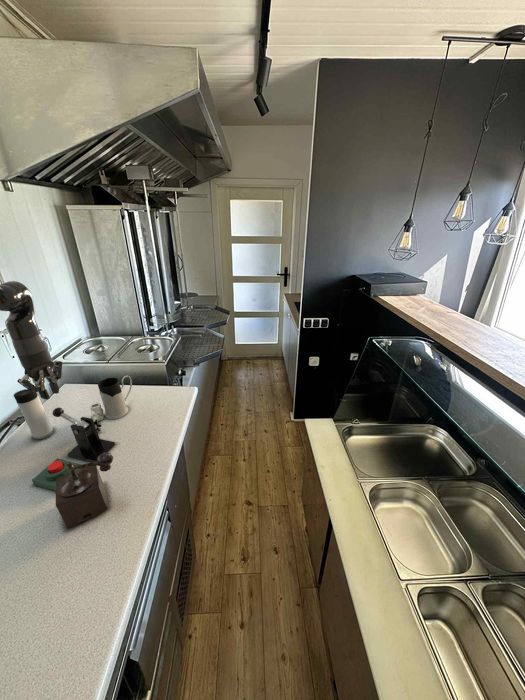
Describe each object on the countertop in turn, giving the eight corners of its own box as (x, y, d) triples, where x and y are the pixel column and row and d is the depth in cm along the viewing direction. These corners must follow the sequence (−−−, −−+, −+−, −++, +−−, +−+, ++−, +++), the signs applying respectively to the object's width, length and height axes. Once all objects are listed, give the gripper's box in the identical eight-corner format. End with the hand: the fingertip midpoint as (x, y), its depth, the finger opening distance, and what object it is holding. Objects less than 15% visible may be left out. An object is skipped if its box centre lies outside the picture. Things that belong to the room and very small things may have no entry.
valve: (91, 416, 119) (84, 436, 108) (87, 403, 116) (79, 422, 106) (109, 413, 120) (103, 432, 110) (105, 400, 118) (99, 418, 107)
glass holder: (101, 415, 120) (91, 385, 113) (129, 397, 131) (122, 369, 124) (114, 421, 116) (105, 390, 109) (143, 402, 127) (135, 373, 120)
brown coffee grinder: (66, 531, 76) (41, 485, 68) (65, 500, 84) (43, 455, 76) (128, 502, 83) (112, 457, 75) (121, 475, 92) (107, 432, 84)
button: (47, 472, 89) (45, 468, 88) (57, 463, 92) (55, 459, 91) (56, 474, 88) (54, 470, 87) (66, 465, 91) (64, 461, 90)
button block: (34, 485, 89) (29, 476, 87) (59, 462, 97) (55, 454, 95) (61, 493, 86) (57, 483, 85) (85, 469, 94) (82, 460, 92)
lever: (49, 416, 97) (50, 409, 95) (58, 410, 100) (58, 404, 98) (82, 434, 96) (83, 428, 95) (90, 428, 99) (90, 422, 98)
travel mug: (30, 441, 106) (8, 397, 98) (38, 429, 112) (18, 387, 103) (48, 439, 107) (28, 395, 99) (56, 427, 113) (37, 384, 105)
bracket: (68, 456, 99) (55, 428, 94) (88, 438, 107) (78, 411, 102) (96, 463, 96) (85, 434, 91) (115, 444, 104) (106, 416, 99)
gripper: (43, 338, 94) (61, 383, 101) (-2, 358, 82) (21, 406, 89) (61, 340, 92) (77, 386, 100) (17, 360, 80) (40, 410, 87)
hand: (51, 395), depth 94 cm, fingers open, 3 cm apart
